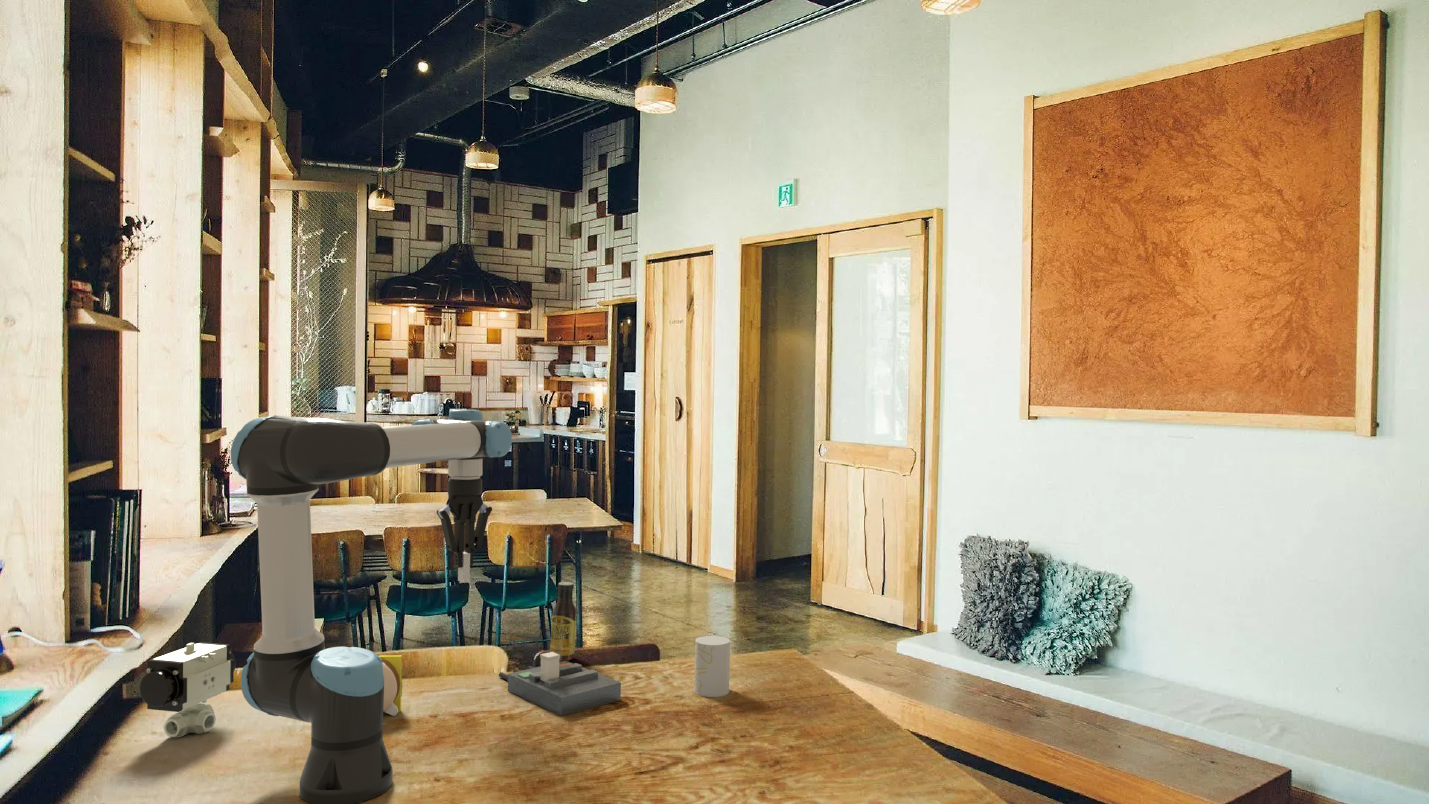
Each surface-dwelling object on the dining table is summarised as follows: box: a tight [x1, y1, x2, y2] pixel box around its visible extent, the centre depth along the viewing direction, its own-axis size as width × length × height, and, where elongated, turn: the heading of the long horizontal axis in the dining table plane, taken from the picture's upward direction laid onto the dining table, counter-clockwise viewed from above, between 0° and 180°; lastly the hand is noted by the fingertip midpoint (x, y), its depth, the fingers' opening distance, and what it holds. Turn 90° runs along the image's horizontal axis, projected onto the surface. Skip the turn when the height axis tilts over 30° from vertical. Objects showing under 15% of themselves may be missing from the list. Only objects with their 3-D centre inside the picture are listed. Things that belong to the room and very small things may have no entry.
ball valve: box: [139, 641, 237, 738], centre depth 184 cm, size 18×8×18 cm, turn 168°
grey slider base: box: [498, 660, 622, 717], centre depth 213 cm, size 32×16×5 cm, turn 43°
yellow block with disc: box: [378, 654, 403, 716], centre depth 196 cm, size 12×8×12 cm
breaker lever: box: [539, 651, 560, 682], centre depth 207 cm, size 3×3×6 cm
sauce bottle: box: [549, 581, 577, 662], centre depth 238 cm, size 7×6×20 cm
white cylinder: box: [694, 635, 731, 698], centre depth 215 cm, size 8×8×12 cm
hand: (463, 581), depth 207 cm, fingers closed
